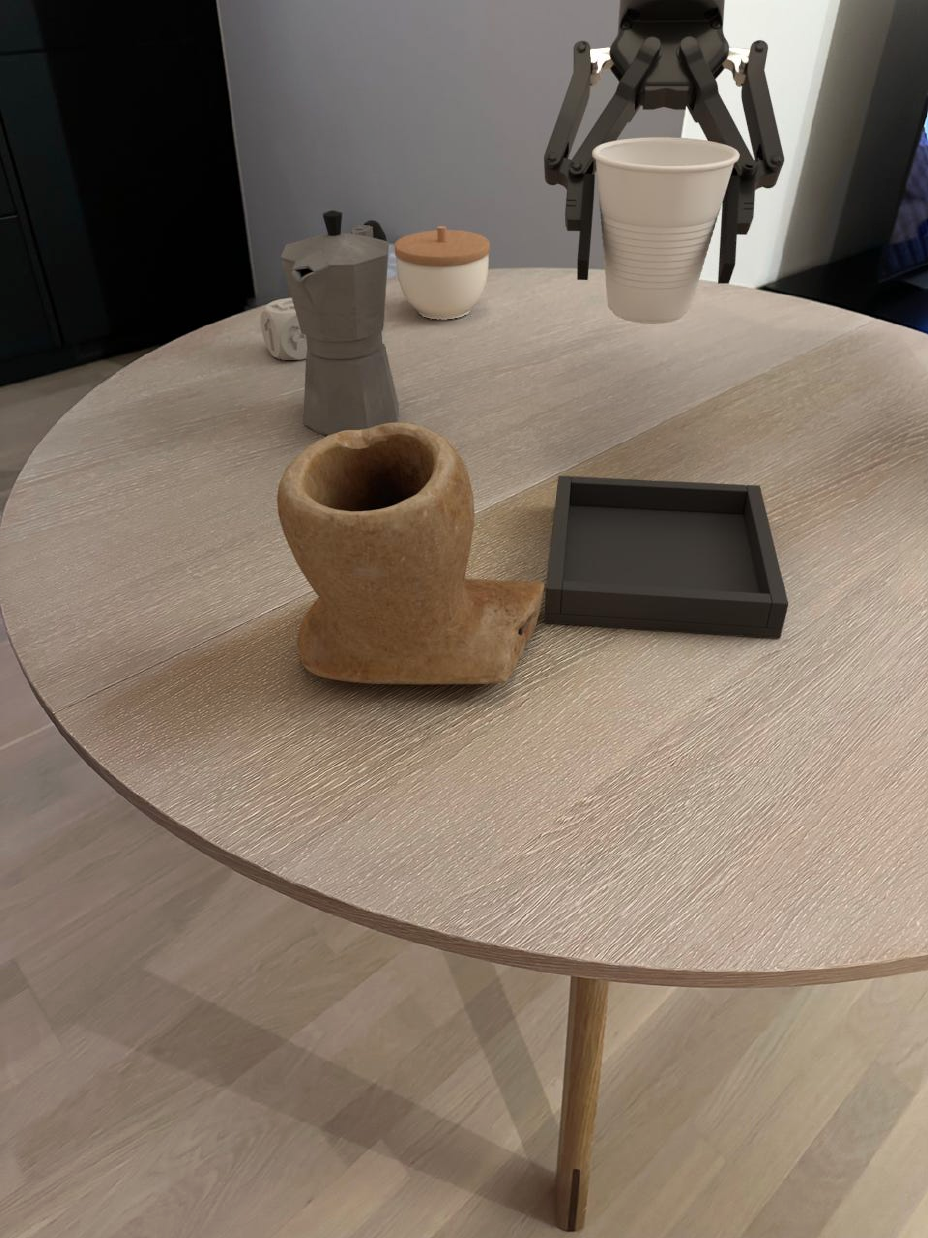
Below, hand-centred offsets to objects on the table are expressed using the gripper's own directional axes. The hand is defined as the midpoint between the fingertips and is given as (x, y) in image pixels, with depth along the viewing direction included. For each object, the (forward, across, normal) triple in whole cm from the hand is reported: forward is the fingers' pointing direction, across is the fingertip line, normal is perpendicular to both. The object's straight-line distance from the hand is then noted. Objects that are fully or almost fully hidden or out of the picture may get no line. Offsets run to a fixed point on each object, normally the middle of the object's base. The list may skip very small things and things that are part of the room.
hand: (653, 272), depth 65 cm
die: (-5, +36, -29) cm, 46 cm away
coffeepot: (+4, +26, -20) cm, 32 cm away
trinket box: (-15, +22, -39) cm, 48 cm away
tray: (+20, -2, -3) cm, 21 cm away
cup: (+1, 0, -5) cm, 5 cm away
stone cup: (+29, +13, +5) cm, 32 cm away
